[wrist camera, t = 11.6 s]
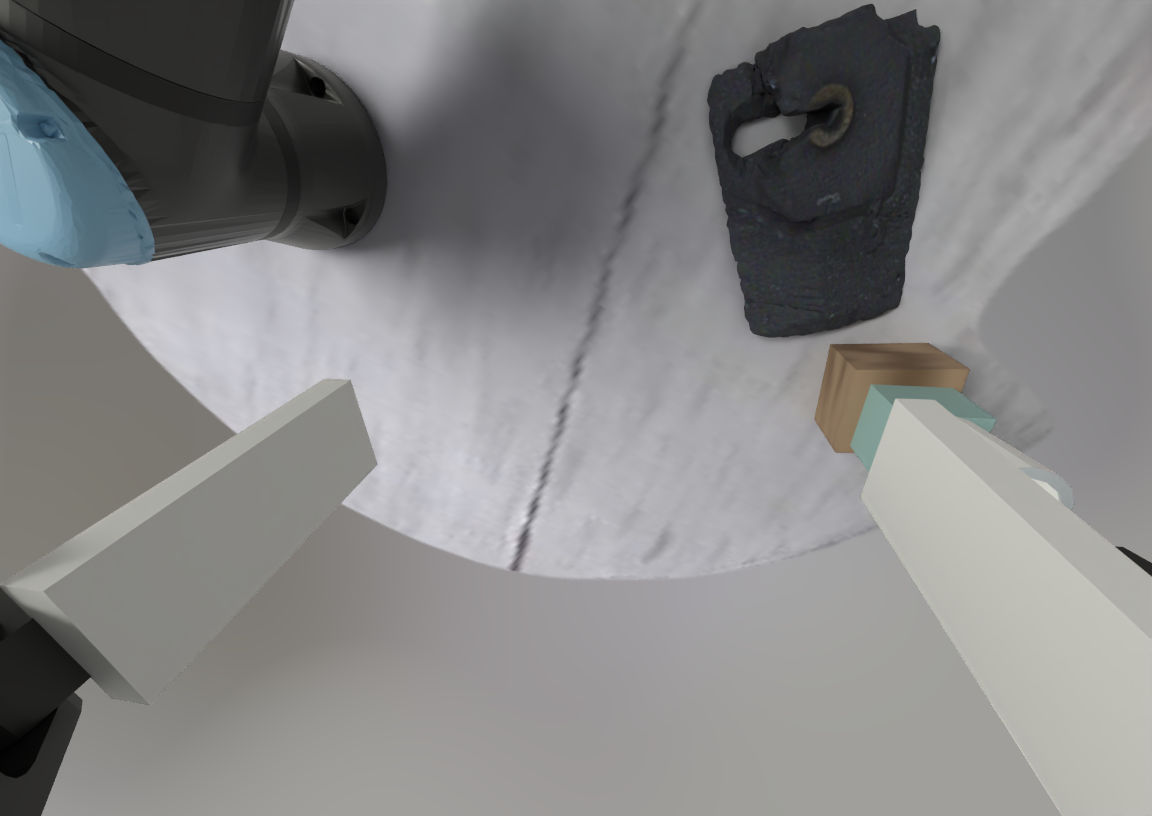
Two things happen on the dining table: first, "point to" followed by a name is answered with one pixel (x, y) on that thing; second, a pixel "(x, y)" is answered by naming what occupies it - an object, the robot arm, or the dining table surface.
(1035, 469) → the shot glass
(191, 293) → the dining table surface
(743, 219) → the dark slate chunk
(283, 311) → the dining table surface
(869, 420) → the top block
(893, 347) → the bottom block
